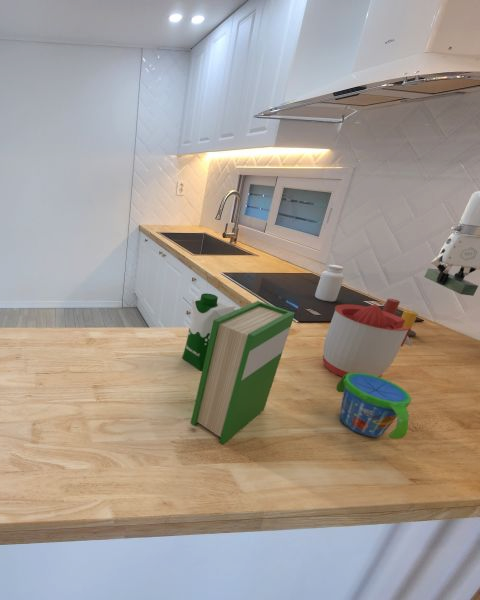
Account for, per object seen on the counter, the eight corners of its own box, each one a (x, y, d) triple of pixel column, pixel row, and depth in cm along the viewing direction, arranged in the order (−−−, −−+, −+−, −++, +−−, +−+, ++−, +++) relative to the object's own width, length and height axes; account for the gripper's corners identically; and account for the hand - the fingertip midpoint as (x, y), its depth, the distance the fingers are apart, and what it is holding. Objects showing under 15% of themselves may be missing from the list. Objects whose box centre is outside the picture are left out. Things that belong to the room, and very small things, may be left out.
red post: (391, 317, 132) (400, 298, 129) (401, 324, 126) (410, 305, 123) (370, 314, 134) (378, 295, 131) (378, 321, 128) (387, 301, 125)
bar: (434, 278, 124) (438, 269, 122) (473, 295, 106) (478, 285, 105) (424, 277, 125) (428, 268, 123) (460, 294, 107) (465, 284, 106)
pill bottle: (321, 294, 153) (332, 263, 148) (339, 301, 146) (352, 268, 141) (310, 296, 150) (320, 263, 145) (327, 302, 144) (339, 269, 138)
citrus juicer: (399, 399, 82) (436, 326, 75) (315, 374, 91) (341, 306, 83) (387, 370, 95) (417, 305, 87) (314, 350, 103) (336, 289, 96)
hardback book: (223, 445, 65) (253, 336, 56) (190, 422, 71) (213, 319, 62) (264, 409, 76) (295, 312, 67) (232, 392, 81) (257, 300, 72)
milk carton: (177, 357, 95) (189, 291, 87) (200, 351, 99) (214, 287, 92) (201, 374, 88) (216, 303, 80) (224, 366, 92) (241, 298, 84)
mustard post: (408, 330, 121) (417, 310, 118) (419, 338, 115) (429, 317, 112) (385, 326, 123) (393, 306, 120) (394, 334, 117) (404, 313, 114)
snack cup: (314, 399, 80) (329, 363, 77) (362, 405, 79) (378, 368, 75) (355, 450, 66) (375, 408, 62) (414, 458, 65) (438, 416, 61)
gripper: (448, 230, 107) (423, 284, 114) (515, 235, 103) (486, 291, 109) (433, 226, 114) (411, 278, 121) (496, 231, 109) (470, 284, 116)
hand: (447, 284), depth 115 cm, fingers closed on bar, 3 cm apart
